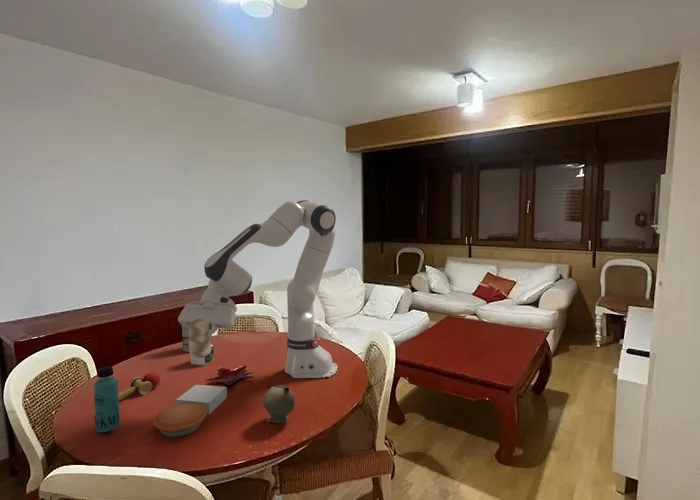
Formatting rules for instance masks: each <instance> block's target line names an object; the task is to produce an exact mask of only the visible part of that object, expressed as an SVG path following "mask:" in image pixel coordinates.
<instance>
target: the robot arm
mask: <svg viewBox="0 0 700 500" xmlns="http://www.w3.org/2000/svg"><path fill="white" fill-rule="evenodd" d="M335 225H336V213H335V210H333V208H331V207H330V206H328V205H325V204H322V203H320V202H316V201H310V200H305V199H304V200H299V201H297V202H295V201H293V200H287V201H286V202H284V203H283V204H281V205H280V206H279V207H278V208H277V209H275V211H274V212H273V213H272V214H271V215H270V216H269V217H268V218H267V220H264V221H263V222H262V223H260V224H259V223H253V224H251V225H250V226H248V227H247V228H246V229H244V230H243V231H242V232H240V233H239V234H238V235H236V236H235V238H234V239H232V240H231V241H230V242H229V243H227V244H226V245H225V246H223V247H222V248H221V249H219V250H218V251H217V252H215V253H213V254H212V255H211V256H210V257H209V258H207V260H206V261H205V262H204V266H203V267H204V274H205V277H206V278H208V279H209V280H208V286H207V288H206V289H205V290H204V292H203V294H202V297H201V299H200V301H190V302H188V303H186V304H185V306H184V307H183V309H182V310H181V312H180V314H179V316H178V317H177V321H178V323H179V324H180V325H181V326H182V325H183V326H189V322H192V321H194V320H196V319H202V320H209V324H210V331H209V332H206V334H205V337H206V338H210V339H211V338H212V336H213V335H214V334H215V333H216V332H217V331H218V329H227V330H230V329H232V327H234V324H235V322H236V317H237V315H236V313H237V310H238V307H237V305H236V304H235V302H234V301H233V300H232V299H231V298H229V297H230V296H232V297H235V296H236V297H237V296H241V295H245V294H247V293H248V292H249V290H250V289H251V286H252V282H253V276H252V274H250V273H249V272H248V271H247V270H246V269H245V268H243V267H242V266H240V265H239V264H238V263H236V262H235V261H234V260H233V259H234V258H235V257H236V256H237V255H238V254H239V253H240V252H241V251H243V250H244V249H245V248H246V247H247V246H248V245H250V244H254V243H255V244H256V243H257V244H261V245H265V246H268V247H272V248H278V247H282V246H284V245H285V244H286V243H287V242H288V241H289V240H290V238H292V236H294V234H295V232H296V231H297V230H298V229H299V228H301V227H304V228H306V229H308V230H309V231H308V232H309V233H308V237H307V240H306V243H305V245H304V247H303V248H302V249H303V250H302V252H301V255H300V257H299V259H298V262H297V265H296V268H295V269H296V270H295V273H294V276H293V278H292V279H291V280H290V281H289V282H288V284H287V287H286V291H287V292H286V293H287V294H286V296H287V301H286V302H287V337H286V338H287V339H286V347H287V348H286V349H287V350H286V351H287V357H286V362H285V366H284V372H285V374H288V375H290V376H291V377H292V378H294V379H326V378H325V377H329V378H332V377H333V376H335V375H336V374H337V372H338V370H337V368H338V364H337V363H335V362H333V358H332V355H331V353H330V352H329V351H327V350H326V349H325V348H323V347H322V346H320V337H316V336H315V314H314V313H315V312H314V311H315V310H314V302H315V299H316V296H317V294H318V291H319V287H320V283H321V281H322V277H323V273H324V270H325V268H326V265H327V263H328V259H329V257H330V255H331V253H332V249H333V245H334V244H335V239H336V238H335V237H336V231H335V230H334V228H335ZM188 336H189V333H188ZM336 371H337V372H336ZM334 374H335V375H334ZM332 375H333V376H332ZM331 376H332V377H331ZM321 377H322V378H321Z"/></svg>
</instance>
